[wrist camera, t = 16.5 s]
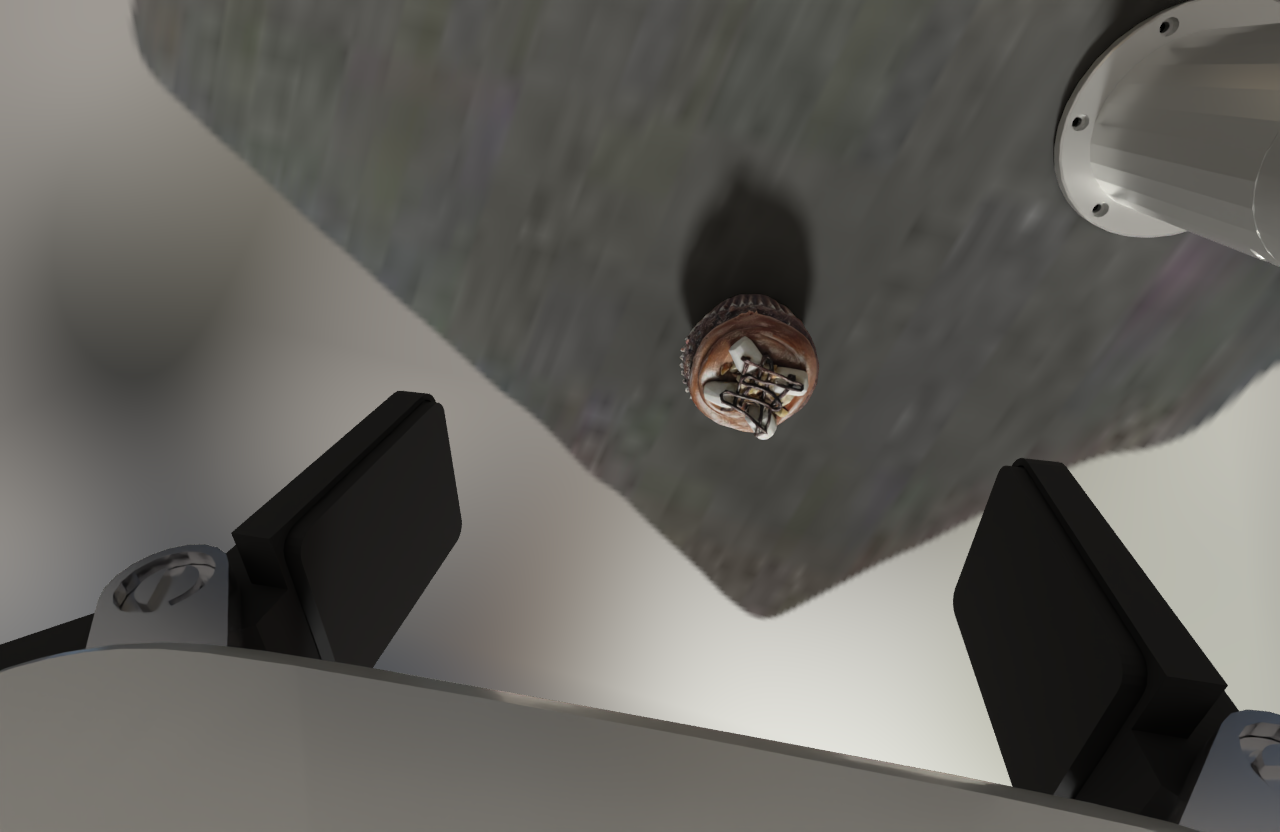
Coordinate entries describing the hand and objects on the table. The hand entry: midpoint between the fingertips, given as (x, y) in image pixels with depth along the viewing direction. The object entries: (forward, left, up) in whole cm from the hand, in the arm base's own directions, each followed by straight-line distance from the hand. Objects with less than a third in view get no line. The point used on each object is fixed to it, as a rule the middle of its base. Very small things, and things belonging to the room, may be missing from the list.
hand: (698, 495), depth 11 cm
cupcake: (-1, +12, -37) cm, 39 cm away
